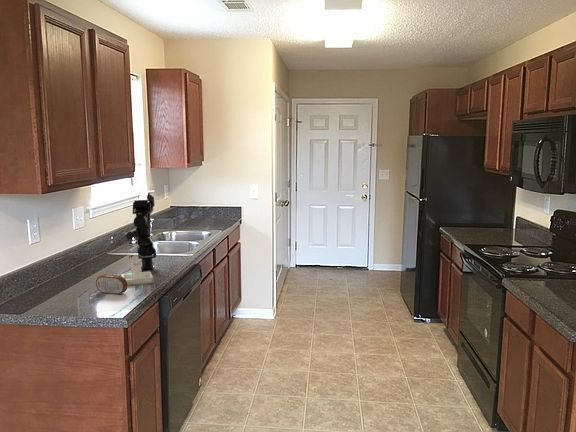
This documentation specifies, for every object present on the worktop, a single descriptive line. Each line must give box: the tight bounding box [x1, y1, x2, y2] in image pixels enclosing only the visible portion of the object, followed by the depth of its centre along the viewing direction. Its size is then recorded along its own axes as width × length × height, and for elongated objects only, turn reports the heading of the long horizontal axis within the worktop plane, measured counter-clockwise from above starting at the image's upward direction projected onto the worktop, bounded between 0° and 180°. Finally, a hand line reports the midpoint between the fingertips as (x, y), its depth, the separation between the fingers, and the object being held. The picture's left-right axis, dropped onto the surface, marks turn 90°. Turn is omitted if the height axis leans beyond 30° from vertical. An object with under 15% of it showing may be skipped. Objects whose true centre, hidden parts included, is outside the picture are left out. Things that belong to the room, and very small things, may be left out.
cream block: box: [131, 260, 142, 279], centre depth 230 cm, size 4×4×9 cm
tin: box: [95, 273, 129, 295], centre depth 212 cm, size 15×3×8 cm, turn 74°
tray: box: [120, 271, 154, 287], centre depth 231 cm, size 12×14×3 cm
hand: (143, 254), depth 239 cm, fingers open, 9 cm apart
